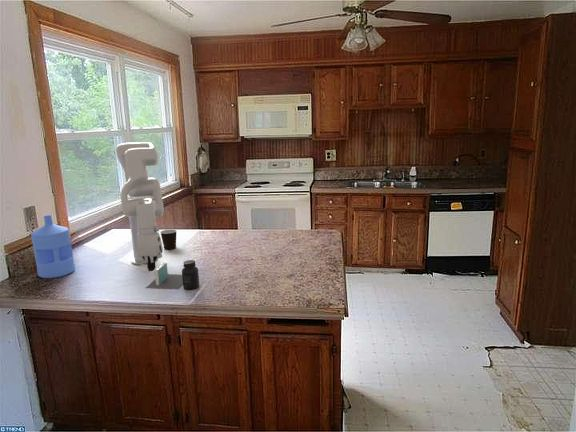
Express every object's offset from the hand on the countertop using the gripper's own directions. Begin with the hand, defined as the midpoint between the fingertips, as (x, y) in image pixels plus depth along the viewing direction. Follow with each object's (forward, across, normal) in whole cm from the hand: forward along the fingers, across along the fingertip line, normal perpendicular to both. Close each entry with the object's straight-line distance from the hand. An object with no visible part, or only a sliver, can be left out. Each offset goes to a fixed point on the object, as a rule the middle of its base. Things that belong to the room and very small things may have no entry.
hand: (151, 270), depth 175 cm
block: (+5, -4, 0) cm, 7 cm away
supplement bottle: (+6, -20, +5) cm, 21 cm away
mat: (+6, -8, 0) cm, 10 cm away
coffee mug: (+6, +13, -48) cm, 50 cm away
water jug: (+6, +52, -7) cm, 53 cm away
